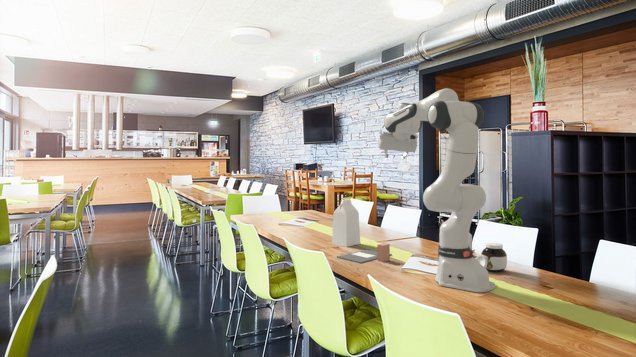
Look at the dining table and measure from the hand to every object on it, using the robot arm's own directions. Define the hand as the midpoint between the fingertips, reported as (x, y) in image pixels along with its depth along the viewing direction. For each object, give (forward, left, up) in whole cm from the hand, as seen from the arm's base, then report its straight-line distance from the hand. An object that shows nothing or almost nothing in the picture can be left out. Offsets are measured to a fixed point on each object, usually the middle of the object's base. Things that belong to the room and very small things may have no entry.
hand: (394, 158), depth 212 cm
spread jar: (-52, +1, -50) cm, 72 cm away
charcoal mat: (+3, +21, -50) cm, 54 cm away
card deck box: (-9, +21, -50) cm, 55 cm away
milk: (+31, +5, -50) cm, 59 cm away
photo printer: (-29, -18, -50) cm, 61 cm away
